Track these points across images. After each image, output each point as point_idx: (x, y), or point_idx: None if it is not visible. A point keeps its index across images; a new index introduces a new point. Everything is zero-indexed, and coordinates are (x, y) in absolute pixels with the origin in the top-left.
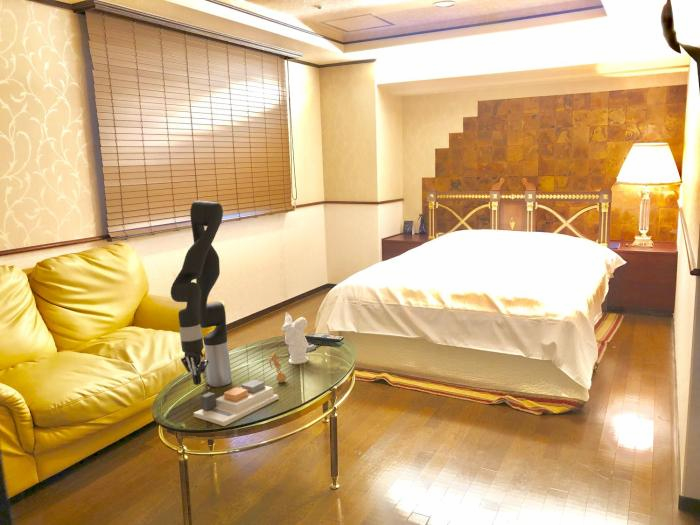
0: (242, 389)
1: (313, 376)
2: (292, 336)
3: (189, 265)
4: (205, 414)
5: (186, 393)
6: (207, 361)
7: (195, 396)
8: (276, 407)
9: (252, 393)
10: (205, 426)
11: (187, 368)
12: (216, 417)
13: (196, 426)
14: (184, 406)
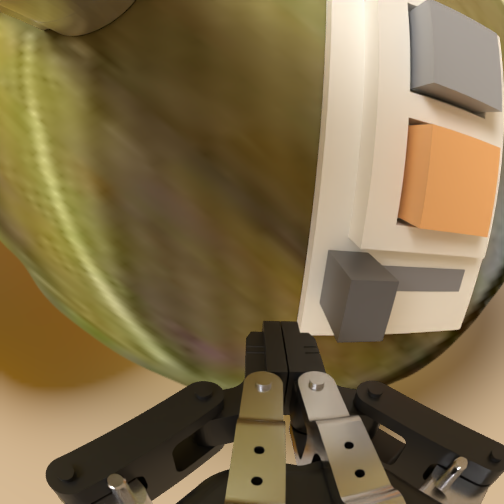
0: (480, 150)
1: None
2: None
3: None
4: None
5: (37, 154)
6: (502, 462)
7: (99, 154)
8: None
9: (476, 110)
10: (395, 353)
11: (193, 458)
12: (422, 320)
13: (365, 367)
14: (154, 267)
